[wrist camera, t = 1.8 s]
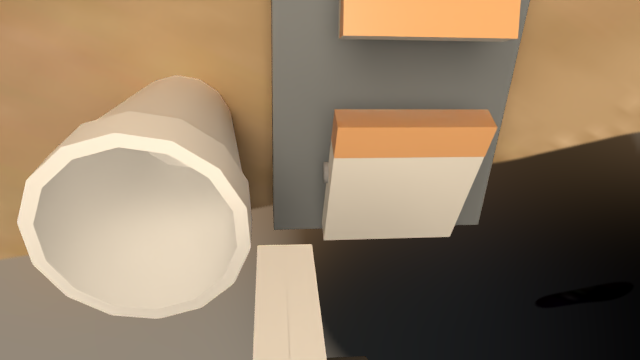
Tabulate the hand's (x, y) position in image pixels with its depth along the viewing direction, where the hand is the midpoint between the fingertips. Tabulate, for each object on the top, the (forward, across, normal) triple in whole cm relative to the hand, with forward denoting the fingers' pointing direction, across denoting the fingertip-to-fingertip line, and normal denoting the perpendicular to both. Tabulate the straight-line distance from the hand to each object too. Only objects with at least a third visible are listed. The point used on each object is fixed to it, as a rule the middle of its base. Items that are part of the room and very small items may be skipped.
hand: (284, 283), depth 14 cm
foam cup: (+20, -6, -3) cm, 21 cm away
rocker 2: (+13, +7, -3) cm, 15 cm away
